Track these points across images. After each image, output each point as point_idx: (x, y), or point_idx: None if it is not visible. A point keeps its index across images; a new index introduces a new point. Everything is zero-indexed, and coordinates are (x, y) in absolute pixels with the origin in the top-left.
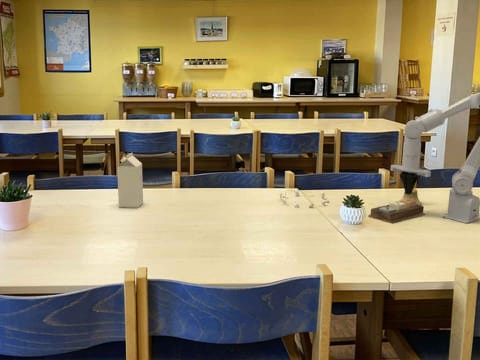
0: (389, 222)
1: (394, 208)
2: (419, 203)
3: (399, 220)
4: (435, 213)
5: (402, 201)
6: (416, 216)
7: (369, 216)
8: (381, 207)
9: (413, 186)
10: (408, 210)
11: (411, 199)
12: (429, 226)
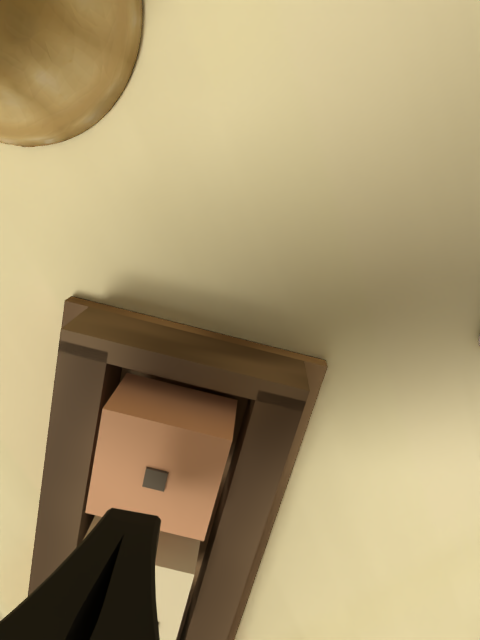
0: None
1: None
2: (125, 11)
3: (237, 628)
4: (388, 245)
5: None
6: (289, 469)
7: None
8: None
9: (152, 612)
10: (245, 577)
11: (33, 79)
12: (444, 607)
